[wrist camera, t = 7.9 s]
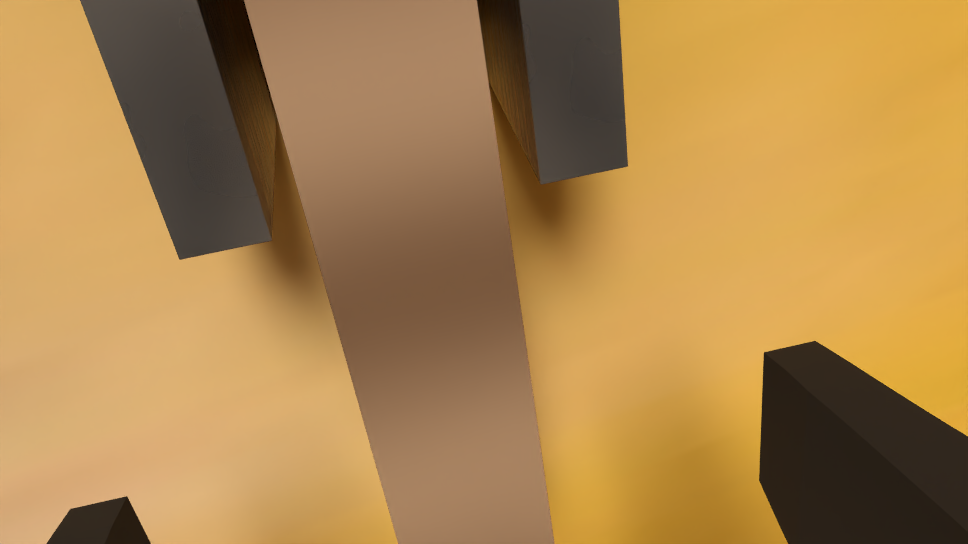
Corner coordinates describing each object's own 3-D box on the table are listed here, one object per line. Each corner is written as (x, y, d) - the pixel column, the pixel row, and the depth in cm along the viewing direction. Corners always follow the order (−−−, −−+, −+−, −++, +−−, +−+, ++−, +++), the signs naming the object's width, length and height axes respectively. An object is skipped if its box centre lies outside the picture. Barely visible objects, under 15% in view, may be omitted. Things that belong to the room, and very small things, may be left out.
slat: (497, 360, 19) (554, 547, 15) (383, 385, 19) (409, 582, 15) (409, -164, 13) (461, -102, 9) (247, -135, 13) (226, -58, 9)
